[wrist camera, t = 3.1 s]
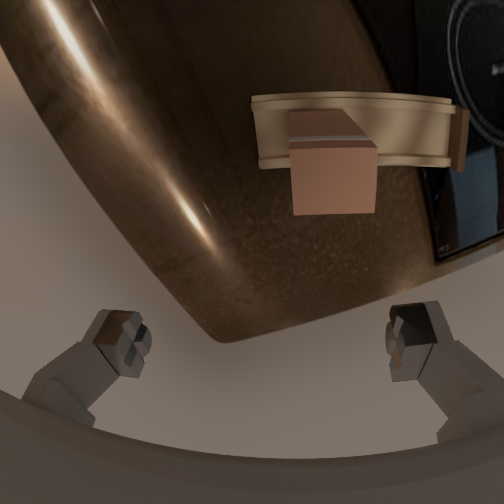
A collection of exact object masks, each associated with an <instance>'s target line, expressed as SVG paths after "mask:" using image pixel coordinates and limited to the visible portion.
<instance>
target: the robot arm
mask: <svg viewBox="0 0 504 504" xmlns="http://www.w3.org/2000/svg"><path fill="white" fill-rule="evenodd" d="M389 315H390V319H391V321H390V322H389V323H388V324H387V327H386V336H385V341H386V349H387V353H388V354H389V355H390V356H391V361H390V364H389V366H390V371H391V377H392V382H399V381H409V380H416V379H418V382H419V383H420V385H421V386H422V387H423V388H424V389H425V390H426V392H427V393H428V394H429V395H430V396H431V397H432V399H433V400H434V401H435V402H436V404H437V405H438V406H439V407H440V408H441V410H442V411H443V412H444V413H445V415H446V416H447V417H448V418H449V419H448V420H447V421H446V423H445V424H444V425H443V426H442V428H440V430H439V431H438V432H437V439H438V444H434V445H429V446H424V447H419V448H414V449H409V450H402V451H396V452H389V453H381V454H373V455H364V456H353V457H339V458H318V459H277V458H256V457H254V458H253V457H242V456H230V455H220V454H213V453H204V452H197V451H190V450H185V449H178V448H174V447H168V446H163V445H158V444H153V443H149V442H144V441H140V440H136V439H132V438H128V437H124V436H120V435H117V434H113V433H109V432H106V431H103V430H99V429H96V428H93V425H94V422H95V416H93V414H91V413H90V412H89V411H88V410H87V409H88V408H89V407H90V406H91V405H92V404H93V403H94V402H95V401H96V400H97V398H99V397H100V396H101V395H102V393H104V392H105V391H106V390H107V389H108V388H109V387H110V386H111V385H112V384H113V383H114V382H115V381H116V380H117V379H118V378H119V376H126V377H133V378H139V376H140V373H141V371H142V368H143V366H144V360H143V357H144V356H146V355H147V354H148V353H149V351H150V348H151V342H152V338H151V333H150V331H149V329H148V328H147V327H146V326H145V325H143V324H142V321H143V318H142V316H141V315H140V313H139V312H135V311H122V310H106V309H102V310H101V311H99V312H98V314H97V315H96V317H95V319H94V320H93V322H92V324H91V325H90V327H89V329H88V331H87V332H86V334H85V336H84V338H83V339H82V341H81V342H77V343H76V344H74V345H73V346H72V347H70V348H69V349H67V350H66V351H65V352H63V353H62V354H60V355H59V356H58V357H56V358H55V359H54V360H52V361H51V362H50V363H48V364H47V365H46V366H44V367H43V368H42V369H40V370H39V371H38V372H36V373H35V374H34V376H33V378H32V380H31V382H30V383H29V385H28V387H27V389H26V391H25V393H24V395H23V397H22V399H21V400H20V399H18V398H16V397H14V396H12V395H10V394H8V393H6V392H4V391H1V390H0V504H504V379H503V378H502V377H501V376H500V375H499V374H498V373H497V372H495V371H494V370H493V369H492V368H490V367H489V366H488V365H487V364H486V363H485V362H484V361H483V360H481V359H480V358H479V357H478V356H477V355H475V354H474V353H473V352H472V351H471V350H469V349H468V348H467V347H466V346H464V345H463V344H462V343H461V342H460V341H458V340H457V341H454V339H453V336H452V333H451V331H450V328H449V326H448V323H447V321H446V318H445V316H444V313H443V311H442V308H441V306H440V304H439V302H438V301H430V302H422V303H421V302H420V303H411V304H402V305H392V307H391V309H390V313H389Z"/></svg>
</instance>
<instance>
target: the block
mask: <svg viewBox="0 0 504 504" xmlns="http://www.w3.org/2000/svg"><path fill="white" fill-rule="evenodd" d="M288 143H289V156H290V168H291V181H292V195H293V209H294V215H315V214H346V213H374V211H375V197H376V181H377V158H378V147H377V146H376V145H375V144H374V143H373V142H372V139H371V138H370V137H369V136H367V135H366V134H365V133H364V131H363V130H362V129H361V128H360V127H359V126H358V125H357V124H356V123H355V122H354V121H353V119H352V118H351V117H350V116H349V115H348V114H347V113H346V112H345V111H344V110H343V109H325V110H297V111H289V137H288Z"/></svg>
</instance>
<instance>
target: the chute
mask: <svg viewBox="0 0 504 504" xmlns="http://www.w3.org/2000/svg"><path fill="white" fill-rule="evenodd" d="M251 97H252V102H251V108H252V112H254V120H255V128H256V136H257V144H258V152H259V159H258V162H259V168H261V169H270V168H288V167H290V156H289V143H288V137H289V111H297V110H325V109H343V110H344V111H345V112H346V113H347V114H348V115H349V116H350V117H351V118H352V119H353V121H354V122H355V123H356V124H357V125H358V126H359V127H360V128H361V129H362V130H363V131H364V133H365V134H366V135H367V136H369V137H370V138H371V139H372V142H373V143H374V144H375V145H376V146H377V147H378V158H377V165H396V166H429V167H446V166H451V167H452V168H453V169H454V170H455V171H456V172H463V171H464V164H465V156H466V148H467V138H468V127H469V112H470V110H468V109H466V108H463V107H461V106H459V105H454V104H451V99H448V98H441V97H433V96H424V95H413V94H402V93H386V92H362V91H319V92H294V93H278V94H266V95H255V96H251Z"/></svg>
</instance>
